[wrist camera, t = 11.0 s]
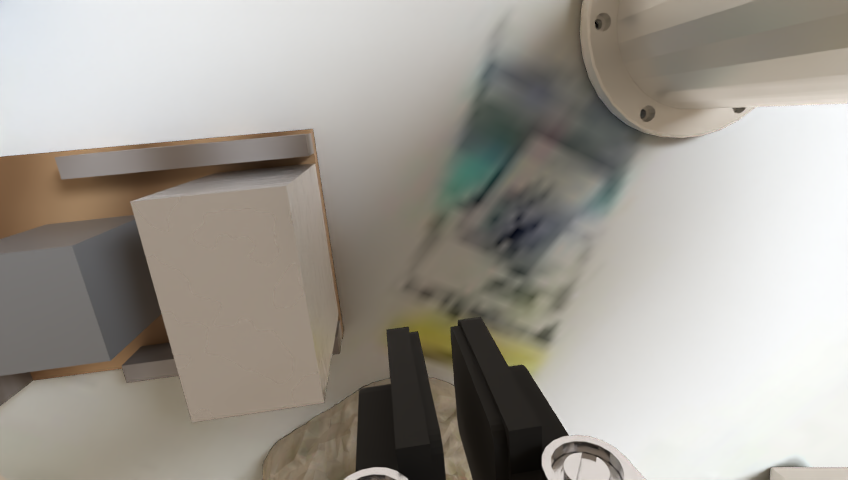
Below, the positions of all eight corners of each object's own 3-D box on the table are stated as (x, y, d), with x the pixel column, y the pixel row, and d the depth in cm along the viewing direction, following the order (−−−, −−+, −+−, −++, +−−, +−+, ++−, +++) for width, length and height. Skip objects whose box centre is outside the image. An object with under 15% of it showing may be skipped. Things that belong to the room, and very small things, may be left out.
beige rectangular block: (315, 163, 22) (286, 186, 14) (338, 314, 24) (324, 402, 17) (215, 172, 22) (129, 201, 14) (249, 326, 24) (192, 422, 16)
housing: (149, 213, 22) (72, 245, 16) (174, 302, 23) (110, 360, 18) (46, 224, 22) (-72, 262, 16) (77, 314, 23) (-21, 378, 17)
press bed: (312, 128, 23) (301, 130, 19) (343, 330, 26) (339, 366, 22) (-56, 161, 21) (-149, 170, 17) (27, 372, 25) (-36, 419, 21)
